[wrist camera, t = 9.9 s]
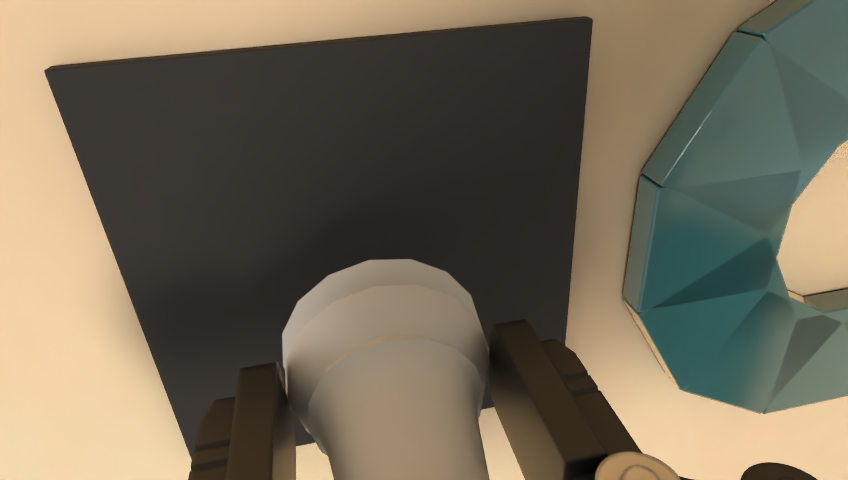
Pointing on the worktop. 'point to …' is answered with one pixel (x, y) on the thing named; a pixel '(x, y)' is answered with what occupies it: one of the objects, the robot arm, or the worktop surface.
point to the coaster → (330, 182)
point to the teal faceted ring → (745, 218)
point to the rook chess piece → (390, 372)
